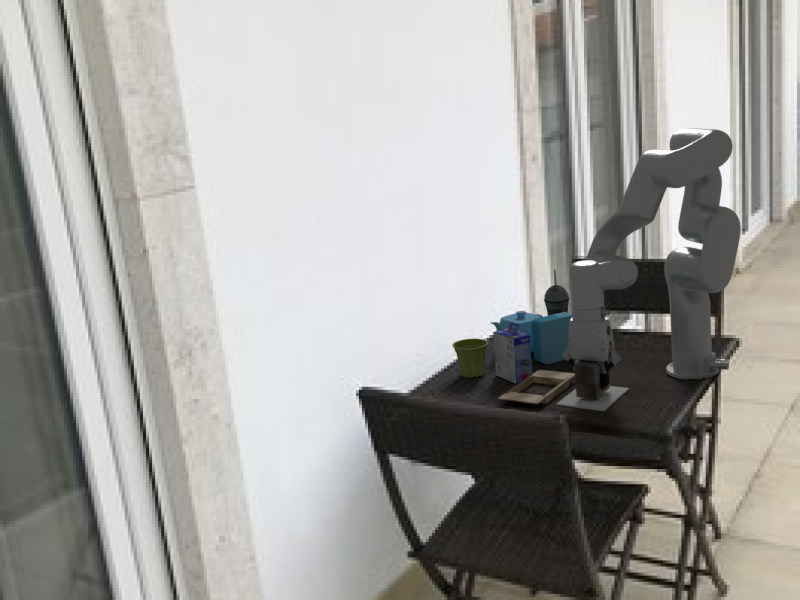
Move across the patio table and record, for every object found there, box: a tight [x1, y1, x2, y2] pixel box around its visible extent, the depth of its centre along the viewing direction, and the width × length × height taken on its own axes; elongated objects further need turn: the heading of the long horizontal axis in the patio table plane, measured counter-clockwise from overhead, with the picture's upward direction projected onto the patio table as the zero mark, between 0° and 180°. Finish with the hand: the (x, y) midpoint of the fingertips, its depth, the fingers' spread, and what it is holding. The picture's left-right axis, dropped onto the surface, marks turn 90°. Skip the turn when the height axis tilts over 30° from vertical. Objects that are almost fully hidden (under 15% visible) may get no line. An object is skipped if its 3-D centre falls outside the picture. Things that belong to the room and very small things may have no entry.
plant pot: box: [452, 337, 489, 379], centre depth 256 cm, size 9×9×9 cm
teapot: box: [490, 310, 544, 354], centre depth 271 cm, size 12×18×12 cm
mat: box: [556, 385, 630, 412], centre depth 232 cm, size 12×15×1 cm
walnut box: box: [574, 360, 611, 399], centre depth 230 cm, size 5×8×8 cm, turn 145°
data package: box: [531, 312, 572, 365], centre depth 261 cm, size 12×4×12 cm, turn 112°
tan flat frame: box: [497, 369, 575, 405], centre depth 239 cm, size 11×22×2 cm, turn 145°
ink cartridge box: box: [492, 322, 533, 385], centre depth 250 cm, size 10×6×14 cm, turn 28°
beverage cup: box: [543, 269, 570, 316], centre depth 279 cm, size 7×7×20 cm
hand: (593, 385), depth 231 cm, fingers closed on walnut box, 5 cm apart
